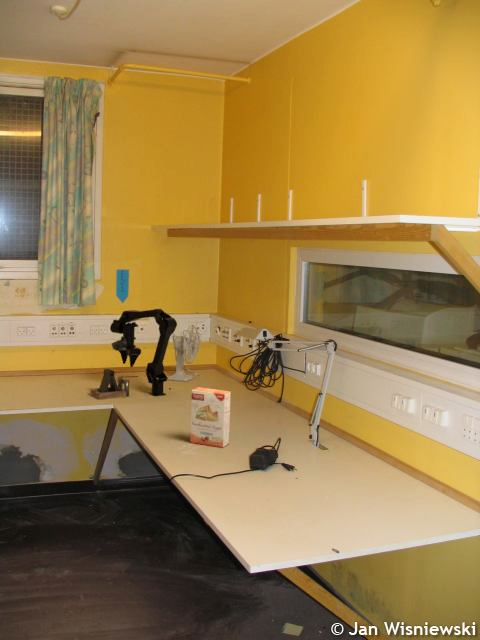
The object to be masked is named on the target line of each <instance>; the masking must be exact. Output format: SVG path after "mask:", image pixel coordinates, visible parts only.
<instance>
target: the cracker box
mask: <svg viewBox="0 0 480 640" xmlns="http://www.w3.org/2000/svg"><path fill="white" fill-rule="evenodd" d="M231 393H232V392H231V391H229V390H221V389H215V388H214V389H213V388H208V387H198V386H197V387H195V388H193V389H191V399H190V400H191V404H190V407H191V408H190V410H191V411H190V443H193V444H199V445H204V446H209V447H210V446H211V447H217V448H222V449H224V448H225V447H227V446H228V445H229V444H230V428H231V427H230V426H231V424H230V422H231V420H230V419H231Z"/></svg>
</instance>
